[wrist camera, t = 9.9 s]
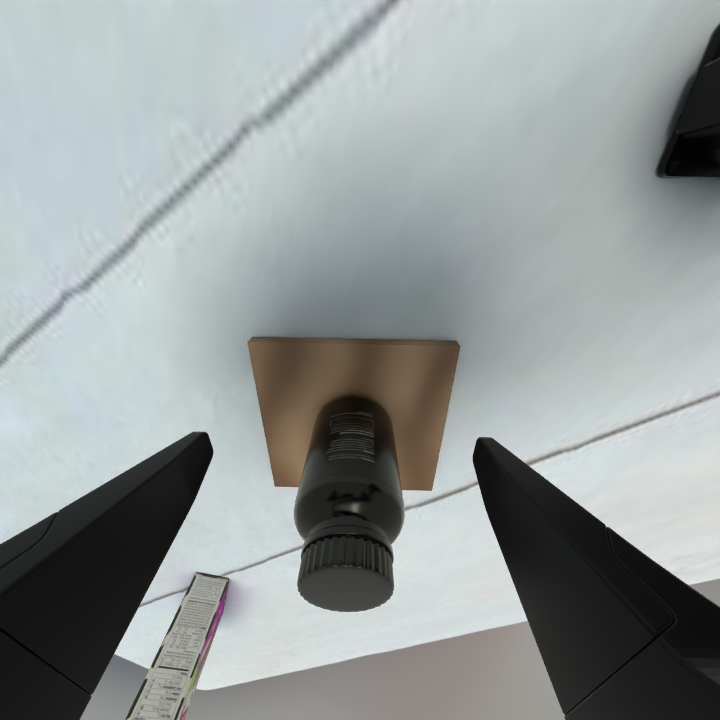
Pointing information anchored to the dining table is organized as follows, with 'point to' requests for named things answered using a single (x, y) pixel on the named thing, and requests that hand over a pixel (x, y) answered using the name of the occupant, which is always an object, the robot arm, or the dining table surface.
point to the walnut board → (354, 379)
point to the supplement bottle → (349, 507)
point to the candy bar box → (182, 653)
